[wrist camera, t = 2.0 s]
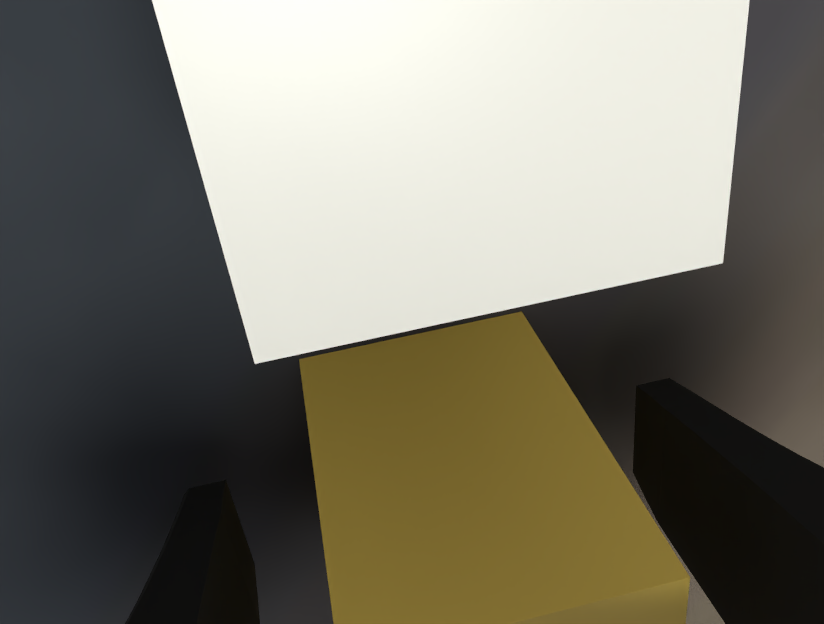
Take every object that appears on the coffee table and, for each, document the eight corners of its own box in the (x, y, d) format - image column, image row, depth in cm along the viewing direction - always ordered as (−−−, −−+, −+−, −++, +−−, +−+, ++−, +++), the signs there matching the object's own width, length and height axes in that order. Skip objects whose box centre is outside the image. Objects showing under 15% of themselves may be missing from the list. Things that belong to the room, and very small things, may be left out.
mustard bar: (530, 475, 16) (670, 767, 11) (338, 520, 15) (390, 847, 10) (521, 311, 14) (690, 576, 9) (298, 358, 13) (338, 667, 8)
